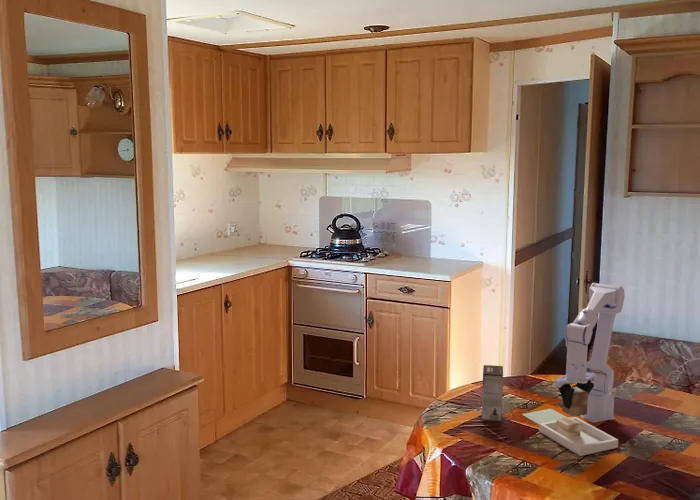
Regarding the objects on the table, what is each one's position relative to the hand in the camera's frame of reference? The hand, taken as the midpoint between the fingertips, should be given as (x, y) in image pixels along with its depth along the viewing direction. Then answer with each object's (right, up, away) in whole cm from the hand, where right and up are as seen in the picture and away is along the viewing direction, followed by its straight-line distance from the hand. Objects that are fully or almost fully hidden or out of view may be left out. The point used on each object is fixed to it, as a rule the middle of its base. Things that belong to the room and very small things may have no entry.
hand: (574, 406), depth 199 cm
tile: (-4, -8, +13) cm, 16 cm away
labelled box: (0, -2, 0) cm, 2 cm away
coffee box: (-22, -8, +17) cm, 28 cm away
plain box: (-1, -9, +2) cm, 9 cm away
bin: (0, -10, -1) cm, 10 cm away
